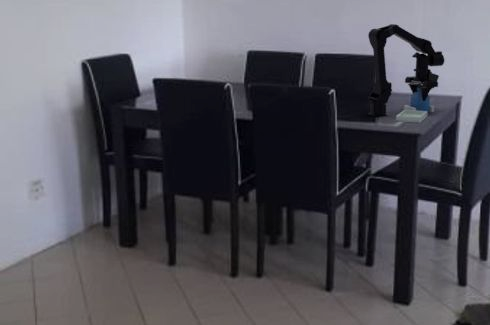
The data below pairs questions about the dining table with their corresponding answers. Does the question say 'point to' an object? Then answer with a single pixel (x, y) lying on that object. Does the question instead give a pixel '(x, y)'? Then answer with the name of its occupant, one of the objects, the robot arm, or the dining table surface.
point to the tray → (411, 116)
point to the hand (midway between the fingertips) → (420, 99)
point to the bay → (408, 107)
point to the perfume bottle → (419, 101)
